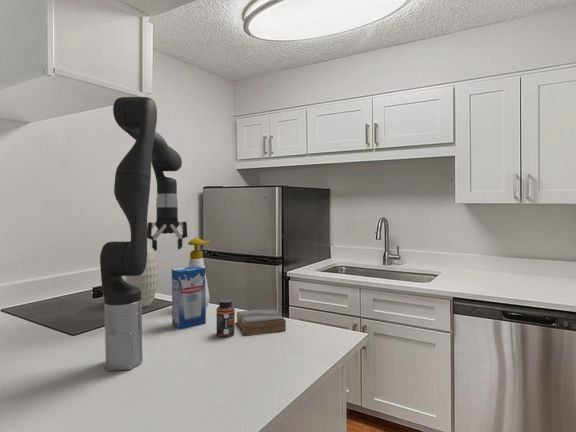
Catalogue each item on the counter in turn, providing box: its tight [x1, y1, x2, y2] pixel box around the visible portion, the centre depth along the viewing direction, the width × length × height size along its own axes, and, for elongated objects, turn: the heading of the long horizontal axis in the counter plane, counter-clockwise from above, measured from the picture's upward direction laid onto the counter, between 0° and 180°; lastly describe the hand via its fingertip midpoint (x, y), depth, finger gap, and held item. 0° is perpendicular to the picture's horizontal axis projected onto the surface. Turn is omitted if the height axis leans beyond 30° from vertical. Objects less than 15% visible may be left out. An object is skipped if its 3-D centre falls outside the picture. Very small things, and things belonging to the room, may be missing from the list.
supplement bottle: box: [216, 298, 236, 338], centre depth 124 cm, size 6×6×11 cm
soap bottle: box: [187, 237, 211, 309], centre depth 151 cm, size 13×10×29 cm
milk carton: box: [171, 266, 207, 331], centre depth 133 cm, size 10×6×20 cm, turn 129°
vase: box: [125, 242, 159, 308], centre depth 158 cm, size 13×13×28 cm
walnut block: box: [236, 307, 287, 336], centre depth 132 cm, size 14×14×4 cm
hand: (167, 249), depth 140 cm, fingers open, 8 cm apart
